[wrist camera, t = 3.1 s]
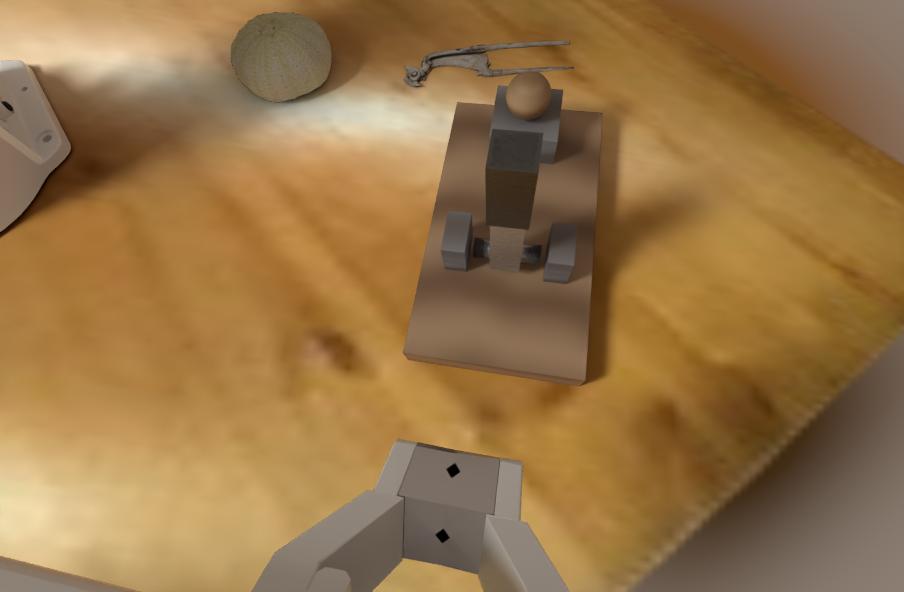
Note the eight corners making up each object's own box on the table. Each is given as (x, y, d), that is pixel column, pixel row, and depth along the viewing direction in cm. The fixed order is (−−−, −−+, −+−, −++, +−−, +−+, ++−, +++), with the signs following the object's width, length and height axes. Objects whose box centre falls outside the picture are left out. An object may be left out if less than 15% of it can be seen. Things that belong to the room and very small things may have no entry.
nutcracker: (573, 37, 41) (578, 75, 39) (571, 46, 42) (577, 83, 40) (404, 46, 42) (401, 83, 40) (405, 54, 43) (402, 91, 41)
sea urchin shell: (263, 10, 44) (284, -38, 37) (328, 72, 48) (358, 38, 41) (207, 74, 41) (220, 33, 34) (281, 134, 45) (305, 108, 38)
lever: (536, 280, 30) (563, 175, 19) (471, 272, 31) (461, 166, 20) (540, 250, 31) (567, 133, 20) (476, 243, 32) (469, 126, 21)
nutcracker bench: (579, 386, 30) (607, 360, 23) (408, 359, 31) (384, 327, 24) (596, 130, 37) (622, 50, 30) (458, 119, 39) (452, 41, 32)
